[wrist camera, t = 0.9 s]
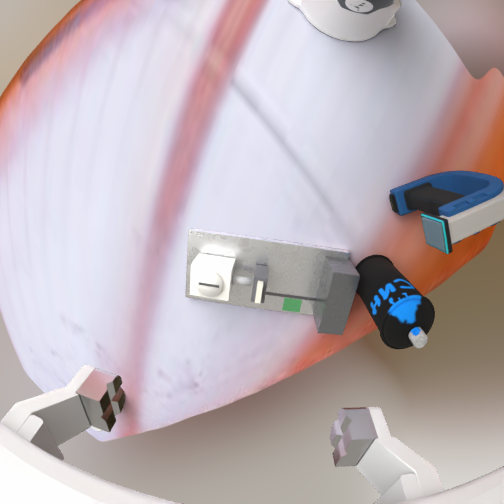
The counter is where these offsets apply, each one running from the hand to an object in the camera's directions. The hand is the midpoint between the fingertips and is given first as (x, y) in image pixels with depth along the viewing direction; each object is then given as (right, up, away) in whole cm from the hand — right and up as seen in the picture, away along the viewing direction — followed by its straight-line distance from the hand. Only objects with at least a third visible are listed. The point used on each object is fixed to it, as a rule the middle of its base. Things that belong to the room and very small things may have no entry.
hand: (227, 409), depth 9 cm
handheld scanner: (+29, +16, +34) cm, 47 cm away
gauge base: (+3, +2, +40) cm, 40 cm away
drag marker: (+2, +2, +38) cm, 38 cm away
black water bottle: (+22, +1, +39) cm, 45 cm away
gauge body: (-4, +2, +38) cm, 38 cm away
